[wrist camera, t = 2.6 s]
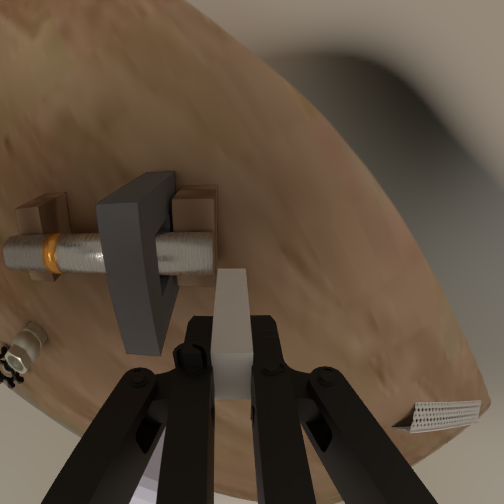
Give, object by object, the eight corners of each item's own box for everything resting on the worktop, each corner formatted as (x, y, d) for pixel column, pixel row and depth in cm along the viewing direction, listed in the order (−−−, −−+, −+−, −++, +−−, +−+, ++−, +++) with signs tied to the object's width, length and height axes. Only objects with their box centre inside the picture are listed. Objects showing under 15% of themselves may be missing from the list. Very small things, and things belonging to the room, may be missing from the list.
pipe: (27, 261, 21) (8, 278, 18) (19, 229, 20) (-2, 243, 17) (214, 264, 22) (212, 285, 20) (214, 224, 21) (211, 240, 18)
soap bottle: (165, 426, 39) (151, 555, 18) (127, 406, 37) (98, 541, 16) (199, 405, 37) (193, 558, 16) (158, 382, 34) (131, 546, 14)
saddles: (54, 257, 26) (31, 280, 22) (43, 194, 24) (14, 209, 19) (218, 259, 28) (215, 286, 23) (217, 185, 25) (213, 198, 20)
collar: (156, 280, 27) (126, 353, 17) (146, 172, 22) (95, 204, 13) (181, 280, 27) (160, 356, 18) (174, 171, 23) (137, 202, 14)
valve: (25, 308, 29) (1, 340, 31) (1, 338, 23) (-19, 366, 25) (59, 343, 31) (29, 369, 34) (40, 377, 25) (13, 397, 28)
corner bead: (481, 397, 48) (490, 410, 44) (458, 420, 52) (465, 433, 47) (416, 398, 42) (426, 417, 38) (386, 426, 46) (394, 446, 41)
